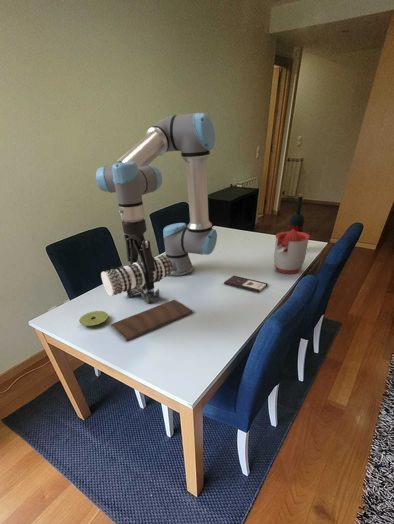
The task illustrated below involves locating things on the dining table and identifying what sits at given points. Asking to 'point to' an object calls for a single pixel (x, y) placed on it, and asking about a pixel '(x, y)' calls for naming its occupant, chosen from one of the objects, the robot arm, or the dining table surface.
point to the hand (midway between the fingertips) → (144, 285)
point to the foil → (143, 292)
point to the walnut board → (150, 319)
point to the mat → (93, 318)
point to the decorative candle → (134, 275)
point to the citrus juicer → (290, 251)
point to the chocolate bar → (245, 283)
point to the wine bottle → (297, 217)
